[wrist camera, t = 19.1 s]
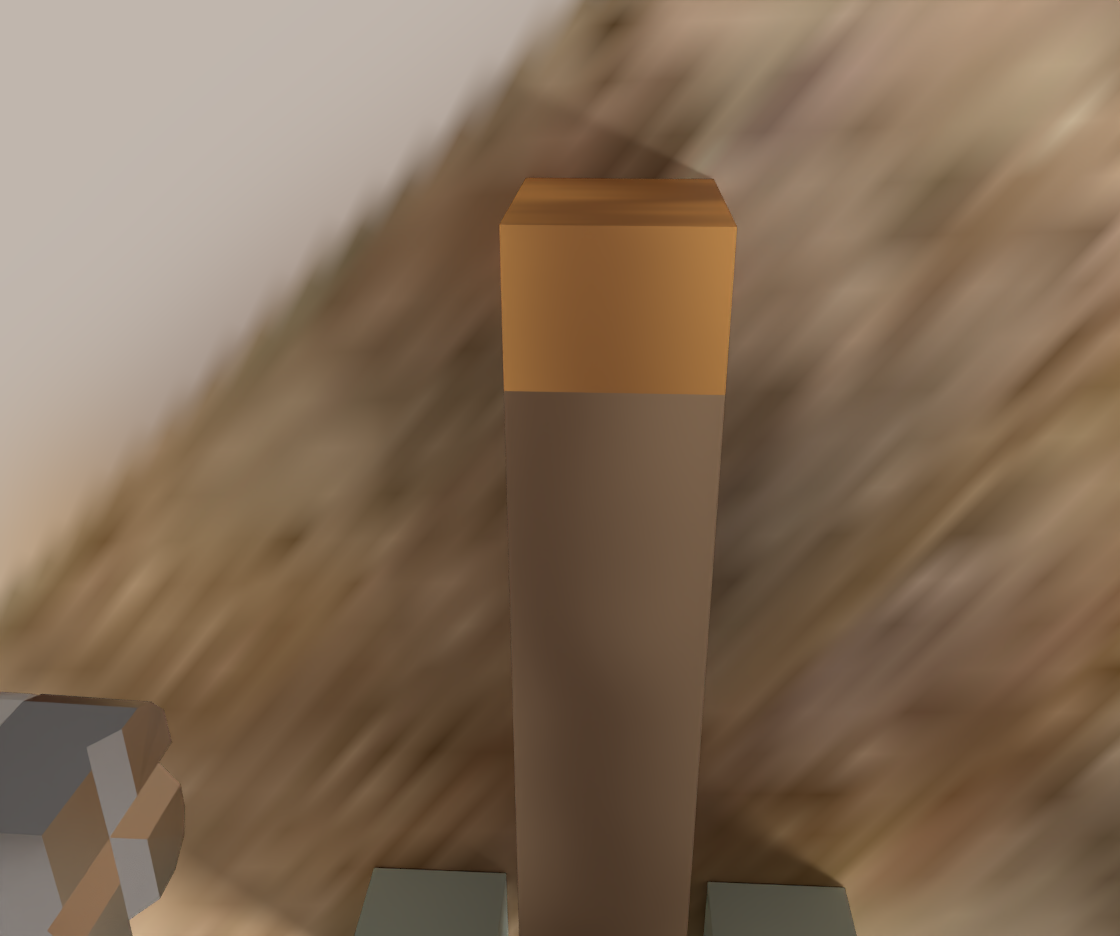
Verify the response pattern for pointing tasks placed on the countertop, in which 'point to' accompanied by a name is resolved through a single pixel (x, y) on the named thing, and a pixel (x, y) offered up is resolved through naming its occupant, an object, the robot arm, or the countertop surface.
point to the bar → (611, 537)
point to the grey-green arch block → (482, 919)
